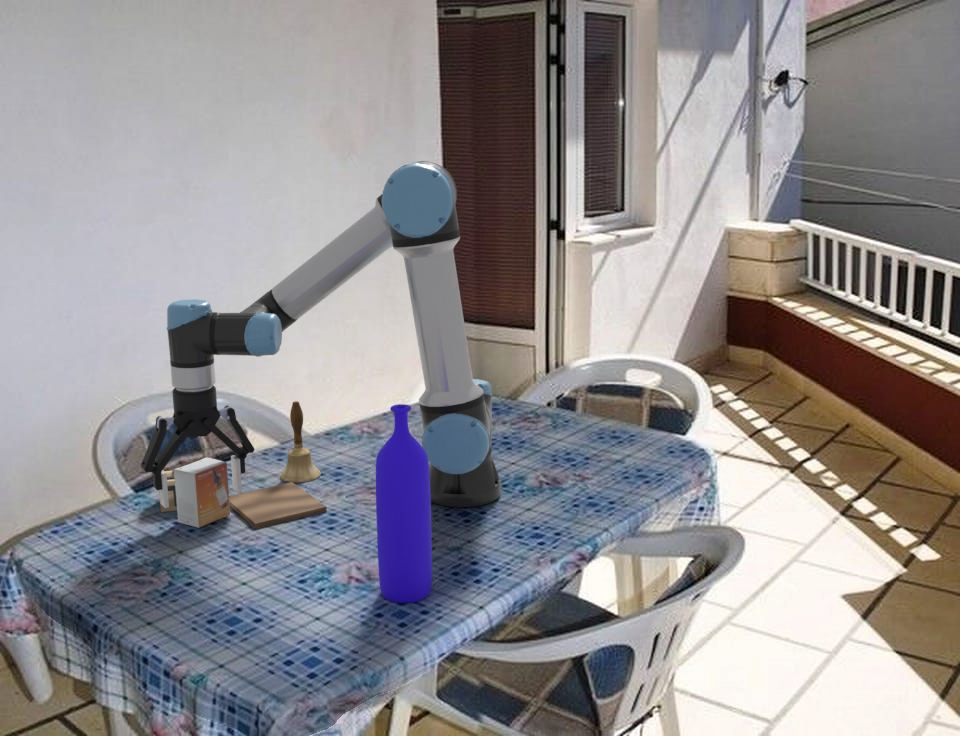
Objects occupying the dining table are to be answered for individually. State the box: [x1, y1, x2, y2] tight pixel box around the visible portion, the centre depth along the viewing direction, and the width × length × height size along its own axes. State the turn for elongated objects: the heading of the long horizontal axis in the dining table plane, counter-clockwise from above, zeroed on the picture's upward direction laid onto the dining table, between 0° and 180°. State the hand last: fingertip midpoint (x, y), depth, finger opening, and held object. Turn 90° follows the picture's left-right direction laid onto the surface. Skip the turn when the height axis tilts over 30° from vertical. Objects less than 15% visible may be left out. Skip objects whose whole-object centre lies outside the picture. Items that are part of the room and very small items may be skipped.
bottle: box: [375, 403, 433, 604], centre depth 146 cm, size 8×8×30 cm
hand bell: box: [280, 400, 322, 484], centre depth 199 cm, size 8×8×16 cm
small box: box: [173, 457, 231, 529], centre depth 178 cm, size 8×6×10 cm
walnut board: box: [229, 482, 328, 529], centre depth 185 cm, size 16×14×1 cm
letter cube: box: [158, 469, 177, 513], centre depth 185 cm, size 6×6×6 cm
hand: (201, 497), depth 178 cm, fingers open, 13 cm apart
